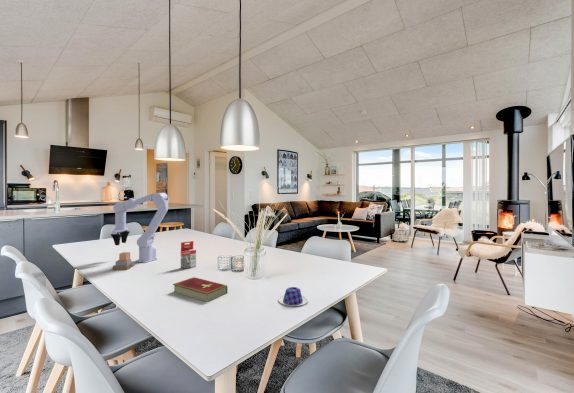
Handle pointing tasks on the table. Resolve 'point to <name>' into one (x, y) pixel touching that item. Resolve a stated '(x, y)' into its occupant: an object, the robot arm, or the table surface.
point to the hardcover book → (200, 288)
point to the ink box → (188, 255)
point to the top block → (123, 263)
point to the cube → (124, 256)
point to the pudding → (293, 297)
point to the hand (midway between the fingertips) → (120, 244)
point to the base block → (123, 267)
